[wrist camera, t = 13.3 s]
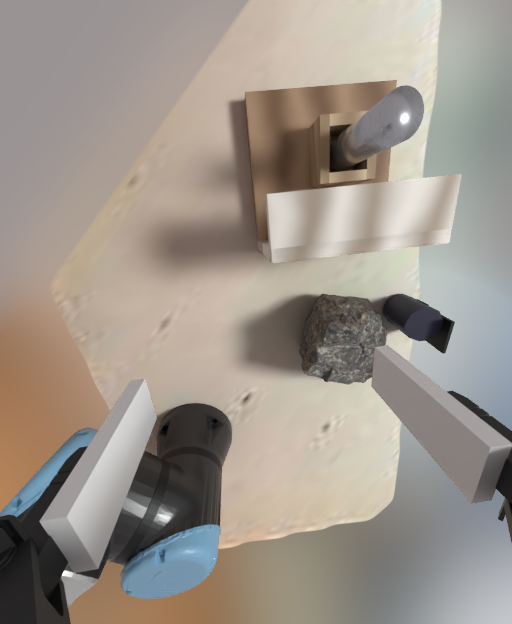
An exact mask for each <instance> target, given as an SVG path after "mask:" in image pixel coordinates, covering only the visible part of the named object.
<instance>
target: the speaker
mask: <svg viewBox="0 0 512 624" xmlns="http://www.w3.org/2000/svg"><path fill="white" fill-rule="evenodd" d="M383 314H384V315H385V317H386V319H387V320H388V321H389V322H391V323H392V324H393V325H394V326H395V327H397V328H398V329H399V330H400V331H402V332H403V333H404V334H405V335H407V336H408V337H409V338H412V339H415V340H418V341H424V340H426V341H427V342H428V343H430V344H431V345H432V346H434V347H435V348H436V349H438V350H439V351H440V352H442V353H445V352H446V349H447V345H448V342H449V339H450V335H451V333H452V329H453V326H454V321H452V320H450V319H448V318H446V317H444V316H442V315H441V314H440V312H439V311H437V310H435V309H433V308H432V307H429V305H428V304H426V303H424V302H422V301H420V300H418V299H417V300H416V299H414V298H412V297H410V296H407V295H404V294H397V295H395V296H393V297H392V298H390V299H388V300H387V302H386V304H385V305H384V307H383Z"/></svg>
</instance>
